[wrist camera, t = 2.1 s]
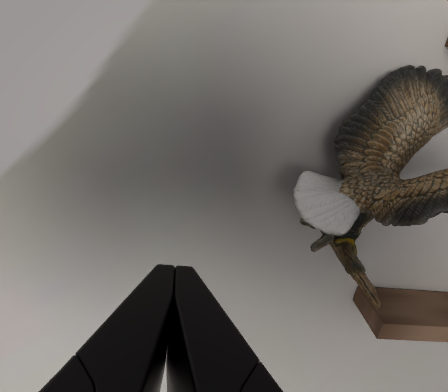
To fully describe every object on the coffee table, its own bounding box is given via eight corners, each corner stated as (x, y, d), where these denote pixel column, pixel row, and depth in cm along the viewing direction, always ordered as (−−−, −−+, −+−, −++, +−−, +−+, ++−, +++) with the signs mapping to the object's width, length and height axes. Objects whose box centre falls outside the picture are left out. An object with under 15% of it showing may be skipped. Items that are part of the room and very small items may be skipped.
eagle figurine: (380, 279, 20) (553, 171, 16) (369, 345, 13) (656, 190, 9) (289, 172, 21) (429, 49, 17) (240, 185, 15) (445, -6, 11)
